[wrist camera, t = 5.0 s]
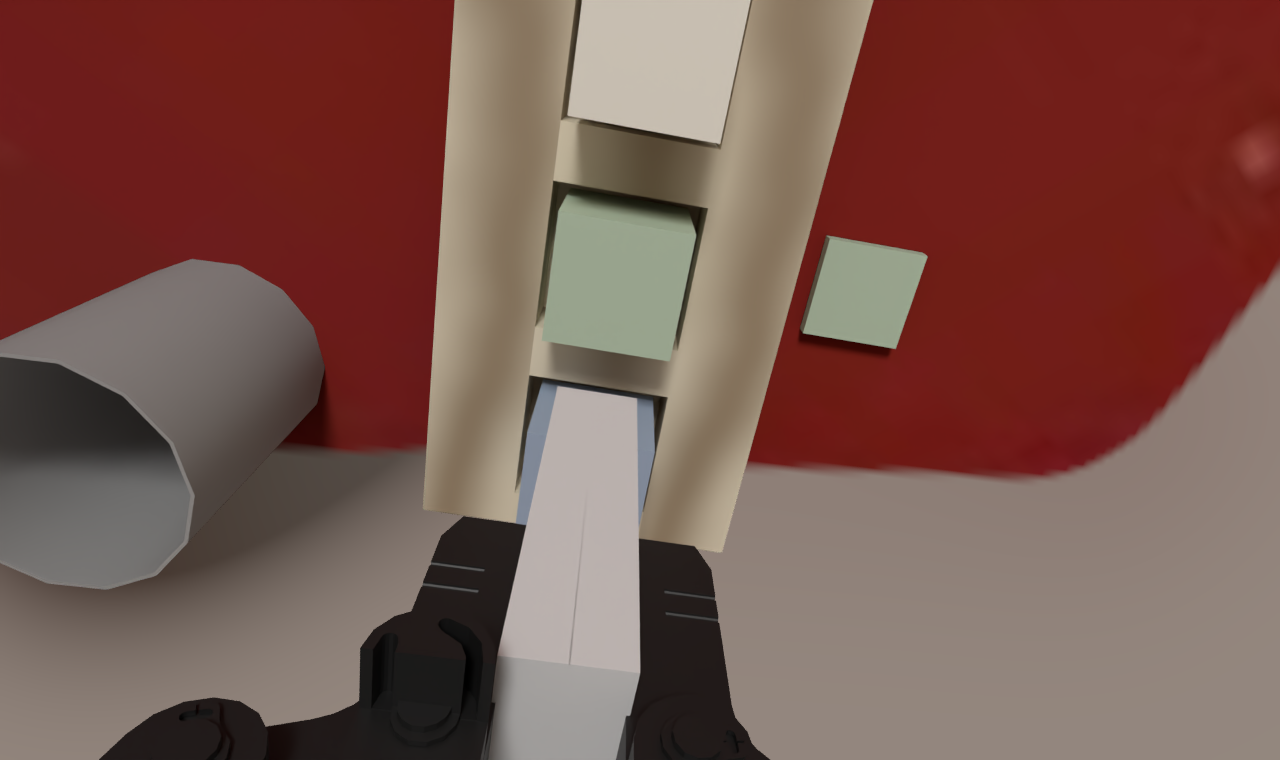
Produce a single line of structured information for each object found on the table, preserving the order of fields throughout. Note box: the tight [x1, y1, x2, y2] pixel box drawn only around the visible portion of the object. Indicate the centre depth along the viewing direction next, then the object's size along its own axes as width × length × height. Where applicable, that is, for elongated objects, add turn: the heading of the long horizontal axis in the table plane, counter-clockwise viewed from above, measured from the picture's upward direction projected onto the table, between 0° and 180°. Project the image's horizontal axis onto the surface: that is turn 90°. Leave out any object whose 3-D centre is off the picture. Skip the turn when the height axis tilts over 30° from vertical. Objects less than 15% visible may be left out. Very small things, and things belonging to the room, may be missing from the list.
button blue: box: [516, 379, 655, 525], centre depth 28 cm, size 4×4×4 cm
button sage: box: [542, 188, 696, 362], centre depth 26 cm, size 4×4×4 cm
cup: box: [0, 259, 325, 589], centre depth 26 cm, size 8×8×10 cm
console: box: [423, 0, 873, 553], centre depth 28 cm, size 13×24×3 cm, turn 170°
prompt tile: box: [800, 235, 928, 349], centre depth 30 cm, size 4×4×1 cm
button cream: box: [567, 0, 751, 144], centre depth 22 cm, size 4×4×4 cm
